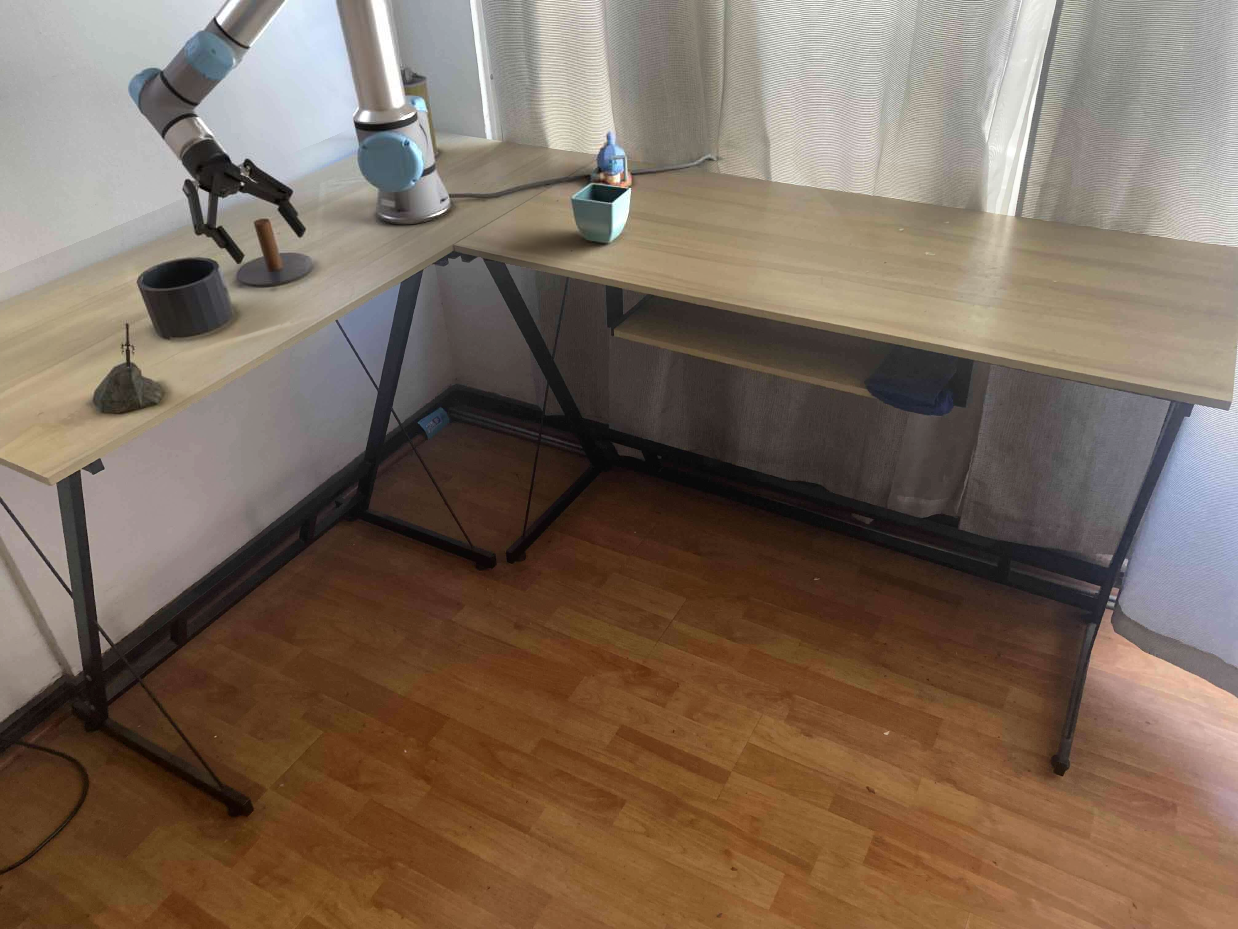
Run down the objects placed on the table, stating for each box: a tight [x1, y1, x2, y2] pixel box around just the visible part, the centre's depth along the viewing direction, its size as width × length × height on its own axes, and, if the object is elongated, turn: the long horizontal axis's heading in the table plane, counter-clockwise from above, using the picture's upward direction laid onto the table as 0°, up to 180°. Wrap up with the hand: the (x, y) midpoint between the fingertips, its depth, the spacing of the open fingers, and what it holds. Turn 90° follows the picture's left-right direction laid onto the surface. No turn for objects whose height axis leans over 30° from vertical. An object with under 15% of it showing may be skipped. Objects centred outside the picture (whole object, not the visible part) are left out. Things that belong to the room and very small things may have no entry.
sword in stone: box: [92, 322, 164, 414], centre depth 134 cm, size 10×8×12 cm
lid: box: [236, 218, 315, 288], centre depth 168 cm, size 14×14×10 cm
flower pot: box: [570, 183, 632, 244], centre depth 175 cm, size 9×9×9 cm
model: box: [589, 131, 633, 188], centre depth 201 cm, size 12×9×9 cm
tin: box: [136, 256, 235, 341], centre depth 154 cm, size 13×13×9 cm
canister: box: [400, 66, 439, 158], centre depth 218 cm, size 11×10×20 cm
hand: (272, 246), depth 167 cm, fingers open, 13 cm apart
